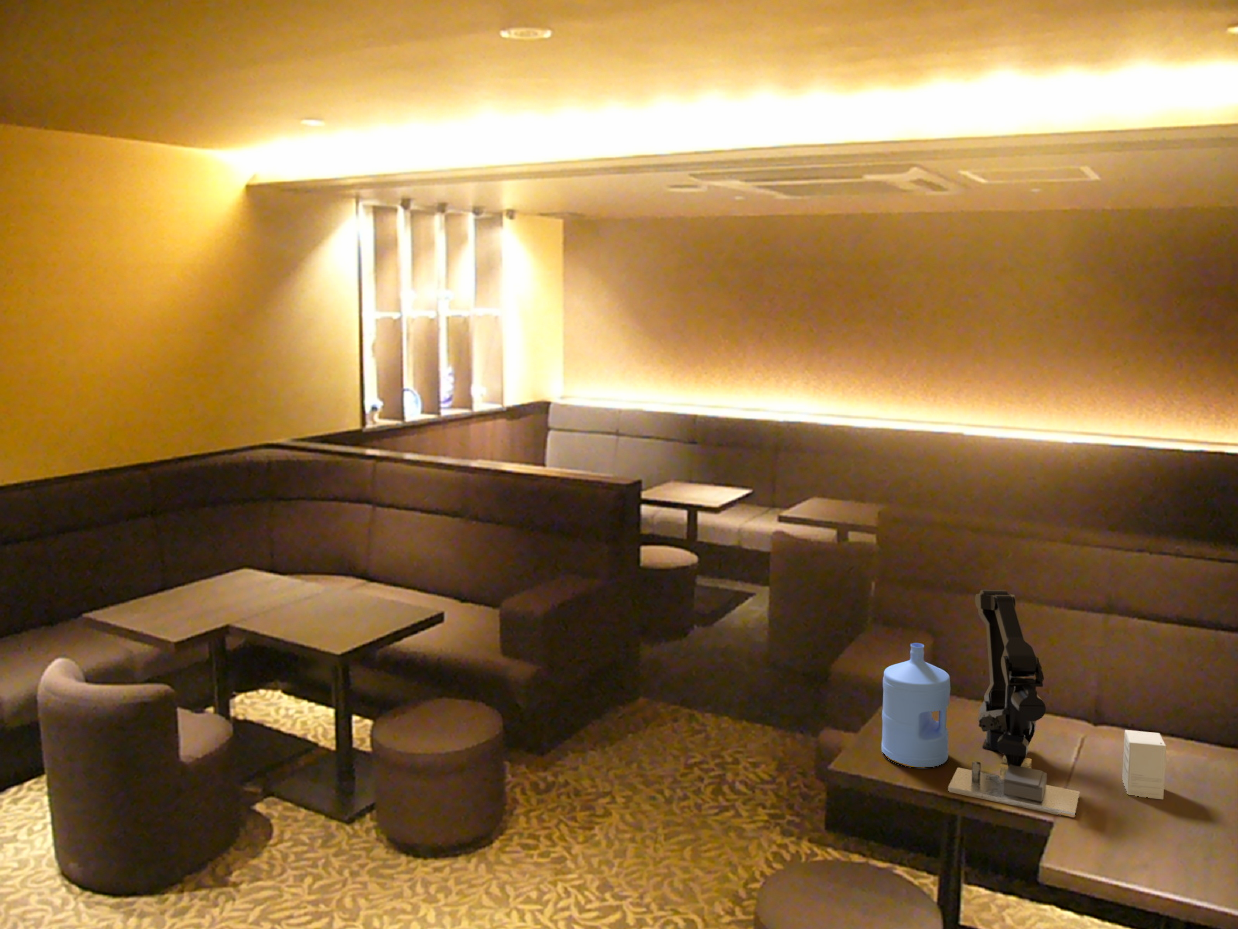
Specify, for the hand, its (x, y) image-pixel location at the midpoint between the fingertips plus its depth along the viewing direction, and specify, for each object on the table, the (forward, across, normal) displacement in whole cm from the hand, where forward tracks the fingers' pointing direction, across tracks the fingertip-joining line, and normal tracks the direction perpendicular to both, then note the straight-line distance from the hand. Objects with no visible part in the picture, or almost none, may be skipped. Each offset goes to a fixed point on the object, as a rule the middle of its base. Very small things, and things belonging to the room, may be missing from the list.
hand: (1015, 768), depth 229 cm
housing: (0, +11, +3) cm, 12 cm away
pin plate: (+1, +11, +1) cm, 11 cm away
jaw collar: (+1, 0, 0) cm, 1 cm away
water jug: (+2, +1, -23) cm, 23 cm away
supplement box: (+2, -4, +26) cm, 26 cm away
